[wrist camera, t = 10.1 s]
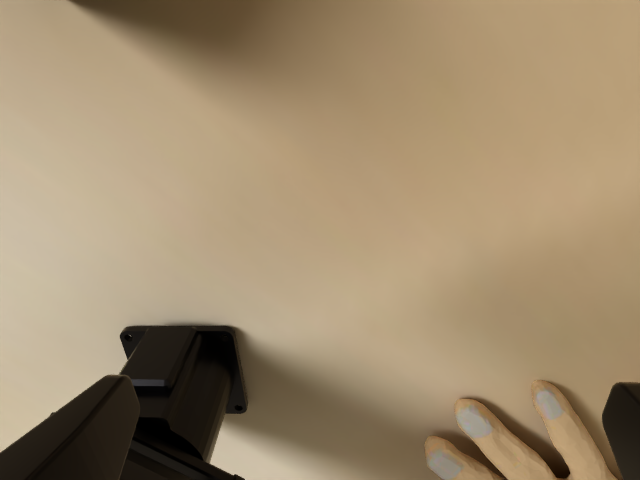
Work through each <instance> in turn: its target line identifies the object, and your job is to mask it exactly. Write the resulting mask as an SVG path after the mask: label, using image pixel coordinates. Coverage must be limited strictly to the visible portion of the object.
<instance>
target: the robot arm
mask: <svg viewBox="0 0 640 480" xmlns="http://www.w3.org/2000/svg"><path fill="white" fill-rule="evenodd" d="M223 334H225V335H227V336H228V337H225V336H223ZM129 335H131V336H132V337H131V336H129ZM120 339H121V342H122V345H123V348H124V351H125V353H126V356H127V359H128V361H127V362H126V364H125V365H124V367H123V369H122V370H121V372H120V373H119V375H107V376H105V377H103V378H101V379H100V380H99V381H97V382H96V383H95V384H93V385H92V386H91V387H89V388H88V389H86V390H85V391H84V392H82V393H81V394H80V395H78V396H77V397H76V398H74V399H73V400H71V401H70V402H69V403H67V404H66V405H65V406H63V407H62V408H61V409H59V410H58V411H56V412H54V413H51V415H50V416H49V417H48V418H47V419H46V420H44V421H43V422H41V423H40V424H39V425H37V426H36V427H35V428H33V429H32V430H30V431H29V432H28V433H26V434H25V435H24V436H22V437H21V438H20V439H18V440H17V441H15V442H14V443H13V444H11V445H10V446H9V447H7V448H6V449H5V450H3V451H2V452H0V480H245V479H244V478H242V477H240V476H238V475H236V474H235V475H231V474H229V473H227V472H225V471H223V470H221V469H219V468H217V467H215V466H213V465H211V464H210V460H211V457H212V454H213V451H214V447H215V444H216V441H217V438H218V434H219V431H220V428H221V425H222V421H223V418H224V415H225V413H231V414H241V413H244V412H245V411H246V410H247V406H248V400H247V395H246V389H245V384H244V378H243V373H242V368H241V362H240V357H239V352H238V346H237V341H236V335H235V332H234V330H233V329H232V328H230V327H227V326H129V327H126V328H124V330H123V331H122V332H121V334H120ZM602 422H603V427H604V430H605V432H606V435H607V438H608V441H609V443H610V446H611V449H612V451H613V454H614V457H615V459H616V462H617V465H618V467H619V470H620V473H621V475H622V478H623V480H640V383H634V382H618V383H616V384H615V385H613V387H612V389H611V392H610V394H609V397H608V400H607V402H606V405H605V408H604V410H603V414H602Z"/></svg>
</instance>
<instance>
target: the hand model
mask: <svg viewBox="0 0 640 480" xmlns="http://www.w3.org/2000/svg"><path fill="white" fill-rule="evenodd" d="M532 397H533V402H534V406H535V408H536V410H537V411H538V413H539V414H540V415H541V417H542V419H543V421H544V423H545V425H546V428H547V431H548V434H549V436H550V439H551V441H552V443H553V445H554V447H555V448H556V449H557V450H558V452H559V453H560V454H561V455H562V457H563V458H564V460H565V462H566V464H567V465H568V467H569V470H570V475H569V476H568V478H565V479H562V478H556V477H555V476H554V474H553V473H552V471H551V470H550V468H549V467H548V465H547V464H546V462H545V461H544V460H543V459H542V458H541V457H540V456H539V455H538V454H537V453H536V452H535V451H534V450H533V449H531V448H530V447H528V446H527V445H526V444H525V443H523V442H522V441H521V440H520V439H519V438H518V437H516V436H515V435H514V434H512V433H511V432H510V431H509V430H508V429H507V428H506V427H505V426H504V425H503V424H502V423H501V421H500V420H499V419H498V418H497V417H496V416H495V415H494V414H493V413H492V412H490V411H489V410H488V409H487V408H486V407H485V406H484V405H483V404H481V403H479V402H477V401H476V400H472V399H459V400H457V401H456V403H455V409H454V410H455V417H456V420H457V423H458V426H459V427H460V429H461V430H462V431H463V432H464V433H465V434H466V435H468V436H469V437H470V438H471V439H472V440H473V441H474V443H475V444H476V445H477V446H478V447H479V448H480V450H481V451H482V452H483V453H484V455H485V456H486V457H487V458H488V459H489V460H490V461H491V462H492V463H493V464H494V465H495V466H496V468H497V469H498V470H499V471H500V472H501V473H502V474H503V475H504V476H505V477H506V478H507V479H508V480H618V479H616V478H615V477H614V476H613V475H612V474H611V472H610V471H609V470H608V468H607V465H606V463H605V462H604V458H603V456H602V455H601V453H600V451H599V449H598V448H597V446H596V444H595V443H594V441H593V439H592V437H591V436H590V434H589V433H588V431H587V429H586V428H585V426H584V425H583V424H582V422H581V420H580V418H579V417H578V415H577V414H576V413H575V412H574V411H573V409H572V407H571V405H570V403H569V402H568V400H567V399H566V398H565V396H564V395H563V394H562V393H561V392H560V391H559V390H558V389H557V388H556V387H555V386H554V385H552V384H550V383H549V382H546V381H543V380H537V381H534V382H533V384H532ZM425 456H426V462H427V466H428V467H429V468H430V469H431V470H432V471H433V472H435V473H436V474H437V475H438V476H439V477H440V478H442V479H443V480H505V479H504V478H502V477H500V476H499V475H497V474H495V473H494V472H493V471H491V470H490V469H489V468H487V467H486V466H485V465H483V464H481V463H480V462H478V461H477V460H476V459H474V458H472V457H470V456H468V455H466V454H464V453H462V452H460V451H459V450H457V449H456V448H455V447H454V445H453V444H452V443H451V442H449V441H447V440H445V439H442V438H440V437H437V436H429V437H428V438H427V440H426V442H425Z"/></svg>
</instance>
